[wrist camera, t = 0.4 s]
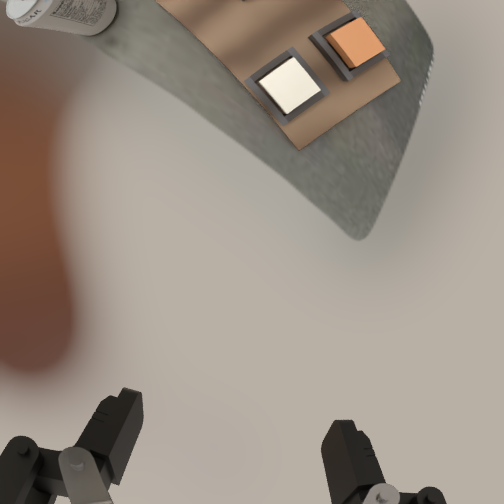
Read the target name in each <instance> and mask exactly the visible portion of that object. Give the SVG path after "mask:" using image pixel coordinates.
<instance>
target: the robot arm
mask: <svg viewBox="0 0 504 504" xmlns="http://www.w3.org/2000/svg"><path fill="white" fill-rule="evenodd" d="M143 416H144V415H143V402H142V393H141V392H138V391H135V390H131V389H128V388H123V389H122V391H121V392H120V394H119V396H118V397H114V396H108V397H107V398H106V399H104V400H102V401H101V402H100V404H99V406H98V407H97V409H96V412H94V414H93V416H92V418H91V419H90V421H89V422H88V424H87V426H86V427H85V429H84V431H83V432H82V434H81V436H80V438H79V439H78V441H77V443H76V444H75V445H74V446H73V447H68V448H66V449H64V450H63V451H55V450H50V449H44V448H40V447H38V446H37V444H36V443H35V442H34V440H32V439H31V438H29V437H26V436H17V437H14V438H13V439H11V440H10V442H9V443H8V444H7V446H6V447H5V449H4V451H3V452H2V454H1V456H0V504H54V503H55V500H56V497H57V495H59V496H64V497H69V499H70V502H71V504H113V501H112V499H111V498H110V495H109V493H108V489H109V487H110V484H111V483H113V484H116V485H119V484H120V481H121V479H122V476H123V473H124V471H125V468H126V466H127V463H128V461H129V458H130V456H131V453H132V450H133V448H134V445H135V443H136V440H137V438H138V435H139V433H140V430H141V428H142V424H143ZM321 453H322V458H323V463H324V467H325V472H326V477H327V482H328V487H329V492H330V497H331V502H332V504H446V501H445V499H444V496H443V494H442V492H441V491H440V490H439V489H437V488H435V487H425V488H423V489H422V490H421V491H419V492H418V493H402V492H398V490H397V489H396V488H395V487H394V486H392V485H390V484H387V483H386V482H385V479H384V477H383V474H382V471H381V468H380V466H379V463H378V460H377V458H376V456H375V452H374V450H373V449H372V445H371V442H370V439H369V438H368V437H367V436H366V435H365V434H364V432H363V431H357V429H356V427H355V424H354V421H353V420H335V421H334V422H333V423H332V425H331V427H330V429H329V431H328V433H327V435H326V436H325V438H324V440H323V442H322V447H321Z"/></svg>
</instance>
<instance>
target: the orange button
mask: <svg viewBox="0 0 504 504" xmlns="http://www.w3.org/2000/svg"><path fill="white" fill-rule="evenodd" d="M325 38H326V39H327V40H328V41H329V43H330V44H331V45H332V46H333V47H334V49H335V50H336V51H337V52H338V54H339V55H340V56H341V58H342V59H343V60H344V61H345V63H346V64H347V65H348V67H349V68H353V67H357V66H359V65H360V64H362V63H363V62H365V61H367V60H368V59H370V58H372V57H373V56H375V55H377V54H378V53H380V52H382V51H383V50H385V48H384V46H383V45H382V44H381V42H380V41H379V39H378V38H377V37H376V35H375V34H374V33H373V31H372V30H371V29H370V27H369V26H368V25H367V24H366V22H365V21H364V20H363V19H362V17H360V18H358V19H356V20H354V21H352V22H350V23H349V24H347V25H345V26H343V27H341V28H340V29H338V30H336V31H334V32H333V33H331V34H329V35H328V36H326V37H325Z"/></svg>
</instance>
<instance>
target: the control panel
mask: <svg viewBox="0 0 504 504" xmlns="http://www.w3.org/2000/svg"><path fill="white" fill-rule="evenodd" d="M155 1H156V2H158V3H159V4H160V5H161V6H162V7H163V8H165V9H166V10H167V11H168V12H169V13H170V14H172V15H173V16H174V17H175V18H176V19H177V20H178V21H179V22H181V23H182V24H183V25H184V26H185V27H186V28H187V29H188V30H189V31H190V32H191V33H193V34H194V35H195V36H196V37H197V38H198V39H199V40H200V41H201V42H202V43H203V44H204V45H205V46H206V47H207V48H208V49H209V50H210V51H211V52H212V53H213V54H214V55H215V56H216V57H217V58H218V59H219V60H220V61H221V62H222V63H223V64H224V65H225V66H226V67H227V68H228V69H229V70H230V71H231V72H232V73H233V74H234V76H235V77H236V78H237V79H238V80H239V81H240V82H241V83H242V84H243V85H244V86H245V87H246V89H247V90H248V91H249V92H250V93H251V94H252V95H253V96H254V97H255V99H256V100H257V101H258V102H259V103H260V104H261V105H262V107H263V108H264V109H265V110H266V111H267V112H268V114H269V115H270V116H271V117H272V118H273V119H274V121H275V122H276V123H277V124H278V125H279V127H280V128H281V129H282V130H283V132H284V133H285V134H286V135H287V136H288V138H289V139H290V140H291V141H292V143H293V144H294V145H295V146H296V148H297V149H298V150H299V151H300V150H301V149H302V148H304V147H305V146H306V145H308V144H309V143H310V142H312V141H313V140H315V139H316V138H317V137H319V136H320V135H322V134H323V133H324V132H326V131H327V130H329V129H330V128H332V127H333V126H334V125H336V124H337V123H339V122H340V121H342V120H343V119H344V118H346V117H347V116H349V115H350V114H352V113H353V112H355V111H356V110H358V109H359V108H360V107H362V106H363V105H365V104H366V103H368V102H369V101H371V100H372V99H374V98H375V97H377V96H378V95H380V94H382V93H383V92H385V91H386V90H388V89H389V88H391V87H392V86H394V85H395V84H397V83H399V82H400V81H401V80H400V79H399V77H398V75H397V74H396V72H395V71H394V69H393V67H392V66H391V64H390V63H389V61H388V60H387V58H386V57H388V56H389V55H390V54H389V52H388V51H387V49H386V48H385V47H384V48H385V50H383V51H382V52H380V53H378V54H377V55H375V56H373V57H372V58H370V59H368V60H367V61H365V62H363V63H362V64H360V65H359V66H357V67H353V68H349V67H348V65H347V64H346V63H345V61H344V60H343V59H342V58H341V56H340V55H339V54H338V52H337V51H336V50H335V49H334V47H333V46H332V45H331V44H330V43H329V41H328V40H327V39H326V38H325V37H326V36H328V35H329V34H331V33H333V32H334V31H336V30H338V29H340V28H341V27H343V26H345V25H347V24H349V23H350V22H352V21H354V20H356V19H358V18H360V17H362V16H361V15H360V14H359V13H358V11H357V10H354V11H352V12H351V11H350V10H349V9H348V8H347V6H346V5H345V4H344V3H343V2H342V1H341V0H155ZM362 19H363V17H362ZM363 20H364V19H363ZM364 21H365V20H364ZM365 22H366V21H365ZM366 24H367V22H366ZM367 25H368V24H367ZM368 26H369V25H368ZM369 27H370V26H369ZM370 29H371V28H370ZM371 30H372V29H371ZM372 31H373V30H372ZM373 33H374V31H373ZM374 34H375V33H374ZM375 35H376V34H375ZM376 37H377V35H376ZM377 38H378V37H377ZM378 39H379V38H378ZM379 41H380V40H379ZM380 42H381V41H380ZM381 44H382V42H381ZM382 45H383V44H382ZM383 46H384V45H383ZM293 57H294V58H295V59H296V60H297V61H298V63H299V64H300V65H301V66H302V67H303V68H304V70H305V71H306V72H307V73H308V75H309V76H310V77H311V78H312V79H313V81H314V82H315V83H316V85H317V86H318V87H319V88H320V91H319V92H317V93H316V94H314V95H313V96H312V97H310V98H309V99H307V100H306V101H304V102H303V103H302V104H300V105H299V106H297V107H296V108H295V109H293V110H292V111H291V112H289V113H288V114H286V113H285V112H284V111H283V110H282V109H281V108H280V106H279V105H278V104H277V103H276V102H275V101H274V99H273V98H272V97H271V96H270V95H269V94H268V92H267V91H266V90H265V89H264V88H263V87H262V86H261V84H260V83H259V81H260V80H262V79H263V78H264V77H266V76H267V75H269V74H270V73H271V72H273V71H274V70H276V69H277V68H278V67H280V66H281V65H283V64H284V63H286V62H287V61H288V60H290V59H291V58H293Z"/></svg>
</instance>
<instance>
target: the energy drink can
mask: <svg viewBox="0 0 504 504" xmlns="http://www.w3.org/2000/svg"><path fill="white" fill-rule="evenodd" d="M6 13H7V15H8V17H9V18H11V19H14V21H15V23H16V24H18V25H20V26H27V27H37V28H45V29H52V30H58V31H64V32H70V33H75V34H80V35H85V36H91V35H95V34H97V33H99V32H101V31H102V30H104V29H105V28H106V27H107V26H108V25H109V24H110V23H111V22H112V20H113V18H114V16H115V13H116V2H115V0H8V2H7V7H6Z"/></svg>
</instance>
